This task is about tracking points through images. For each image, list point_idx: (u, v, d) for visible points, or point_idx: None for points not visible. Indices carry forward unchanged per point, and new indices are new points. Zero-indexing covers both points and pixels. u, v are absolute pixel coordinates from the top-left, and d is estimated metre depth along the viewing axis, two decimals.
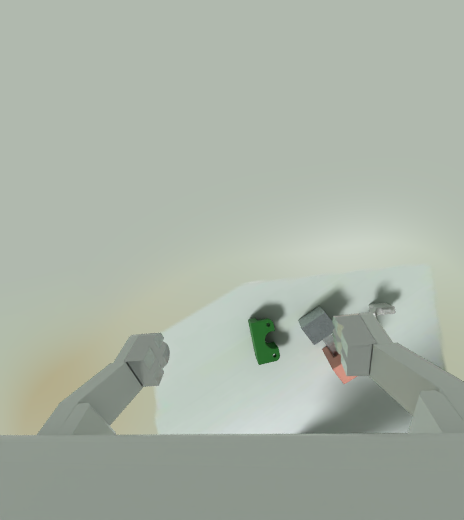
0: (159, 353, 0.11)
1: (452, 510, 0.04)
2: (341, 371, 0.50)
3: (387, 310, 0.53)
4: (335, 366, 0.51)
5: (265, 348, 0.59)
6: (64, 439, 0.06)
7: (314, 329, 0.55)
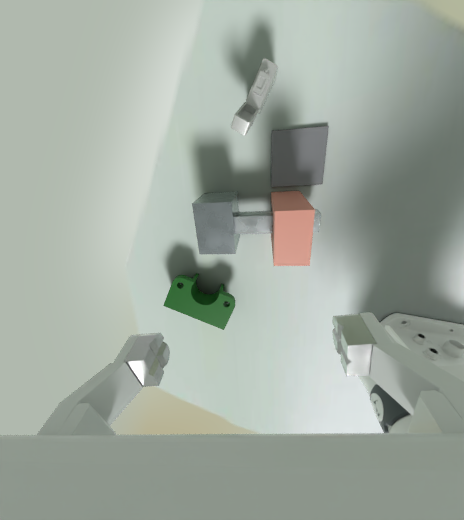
0: (159, 353, 0.11)
1: (452, 510, 0.04)
2: (285, 254, 0.25)
3: (258, 80, 0.23)
4: (273, 257, 0.26)
5: (209, 308, 0.38)
6: (64, 439, 0.06)
7: (211, 237, 0.30)
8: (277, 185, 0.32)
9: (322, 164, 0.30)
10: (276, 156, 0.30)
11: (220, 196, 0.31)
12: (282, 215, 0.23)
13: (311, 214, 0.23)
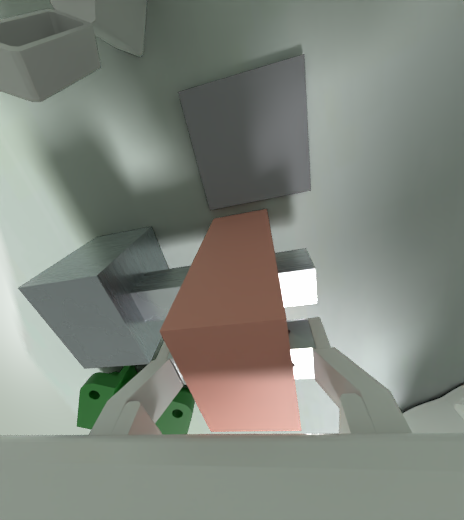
0: None
1: (452, 510, 0.04)
2: (232, 414, 0.09)
3: None
4: None
5: None
6: (64, 439, 0.06)
7: (91, 342, 0.14)
8: (220, 205, 0.16)
9: (304, 149, 0.14)
10: (203, 148, 0.14)
11: (105, 248, 0.15)
12: (187, 339, 0.07)
13: (277, 331, 0.07)
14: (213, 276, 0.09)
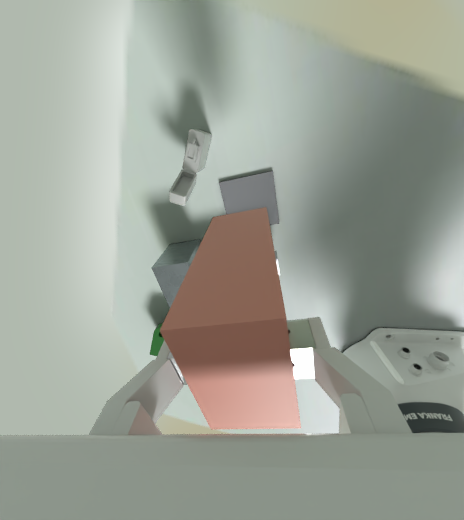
0: None
1: (452, 510, 0.04)
2: (232, 412, 0.09)
3: (188, 151, 0.23)
4: None
5: None
6: (64, 439, 0.06)
7: None
8: None
9: (275, 205, 0.30)
10: (228, 204, 0.30)
11: (181, 250, 0.31)
12: (187, 338, 0.07)
13: (277, 330, 0.07)
14: (213, 275, 0.09)
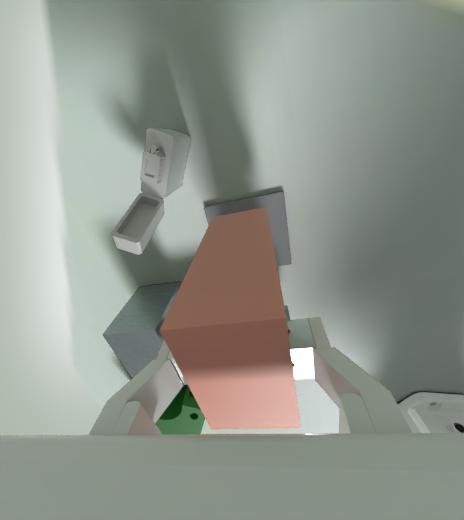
0: None
1: (452, 510, 0.04)
2: (232, 412, 0.09)
3: (146, 165, 0.14)
4: None
5: (174, 423, 0.30)
6: (64, 439, 0.06)
7: (143, 367, 0.21)
8: None
9: (286, 240, 0.21)
10: None
11: (151, 302, 0.22)
12: (187, 338, 0.07)
13: (277, 330, 0.07)
14: (213, 275, 0.09)
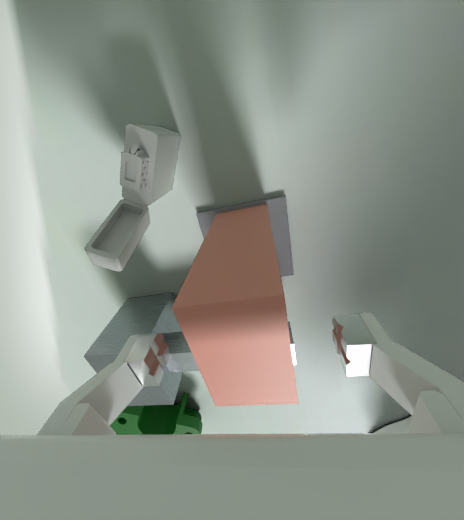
0: (159, 353, 0.11)
1: (452, 510, 0.04)
2: (236, 388, 0.10)
3: (126, 168, 0.12)
4: None
5: None
6: (64, 439, 0.06)
7: None
8: None
9: (287, 249, 0.19)
10: None
11: (139, 317, 0.20)
12: (196, 315, 0.08)
13: (276, 306, 0.08)
14: (218, 262, 0.10)
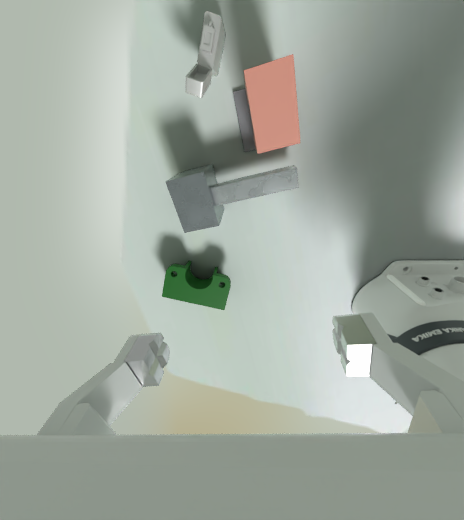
0: (159, 353, 0.11)
1: (452, 510, 0.04)
2: (269, 134, 0.20)
3: (204, 36, 0.22)
4: (256, 143, 0.21)
5: (206, 291, 0.38)
6: (64, 439, 0.06)
7: (192, 213, 0.29)
8: (250, 149, 0.31)
9: None
10: (243, 118, 0.29)
11: (194, 171, 0.30)
12: (254, 74, 0.18)
13: (290, 62, 0.18)
14: None
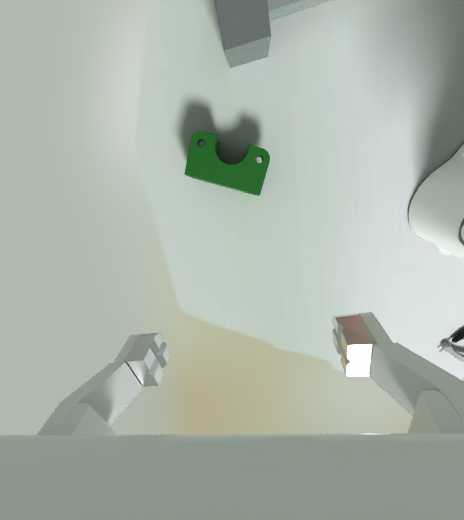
0: (159, 353, 0.11)
1: (452, 510, 0.04)
2: None
3: None
4: None
5: (239, 168, 0.31)
6: (64, 439, 0.06)
7: (237, 14, 0.22)
8: None
9: None
10: None
11: None
12: None
13: None
14: None
